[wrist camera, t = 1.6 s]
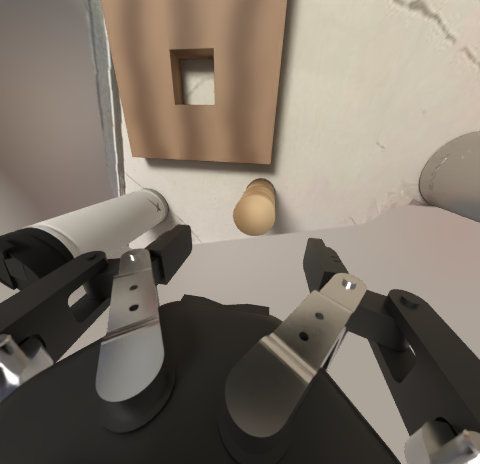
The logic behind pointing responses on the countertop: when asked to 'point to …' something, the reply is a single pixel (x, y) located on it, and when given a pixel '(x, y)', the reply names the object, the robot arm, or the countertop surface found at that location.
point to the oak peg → (256, 208)
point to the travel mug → (77, 236)
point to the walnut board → (225, 75)
